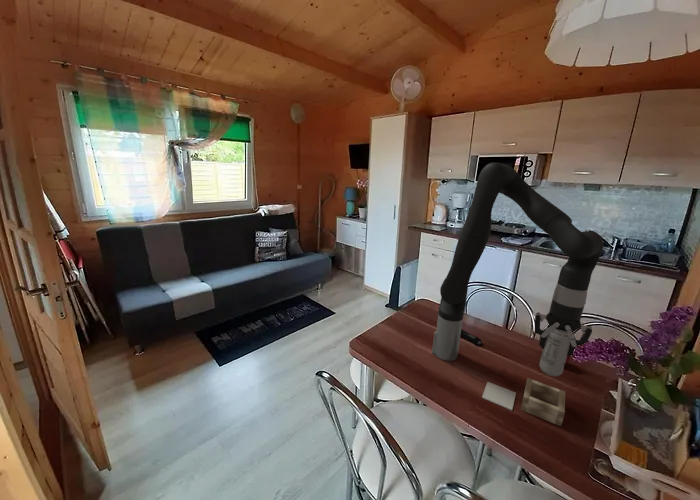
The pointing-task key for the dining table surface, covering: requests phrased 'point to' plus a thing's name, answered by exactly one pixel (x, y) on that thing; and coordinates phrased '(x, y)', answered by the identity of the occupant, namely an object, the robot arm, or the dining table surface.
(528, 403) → the pocket holder
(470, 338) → the electric trimmer
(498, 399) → the grey pad
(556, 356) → the energy drink can
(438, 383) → the dining table surface
